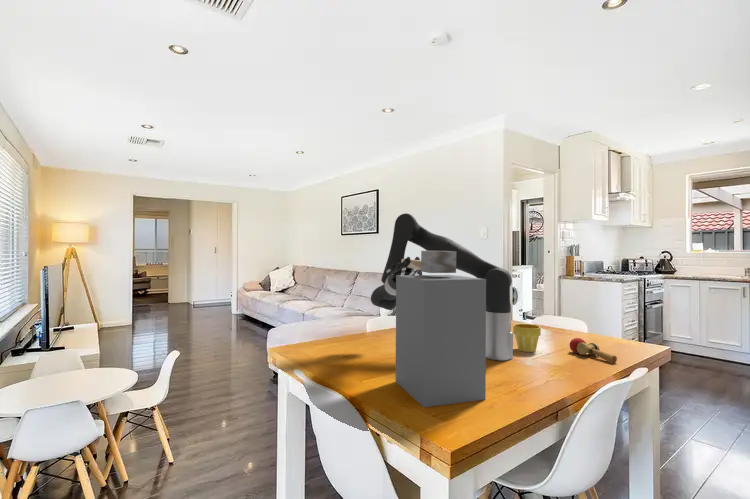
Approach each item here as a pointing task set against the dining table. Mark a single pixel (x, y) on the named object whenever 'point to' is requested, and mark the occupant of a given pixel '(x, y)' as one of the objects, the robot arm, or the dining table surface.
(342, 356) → the dining table surface
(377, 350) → the dining table surface
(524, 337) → the plant pot
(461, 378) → the tall grey box
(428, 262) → the tan and grey block
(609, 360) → the kendama
